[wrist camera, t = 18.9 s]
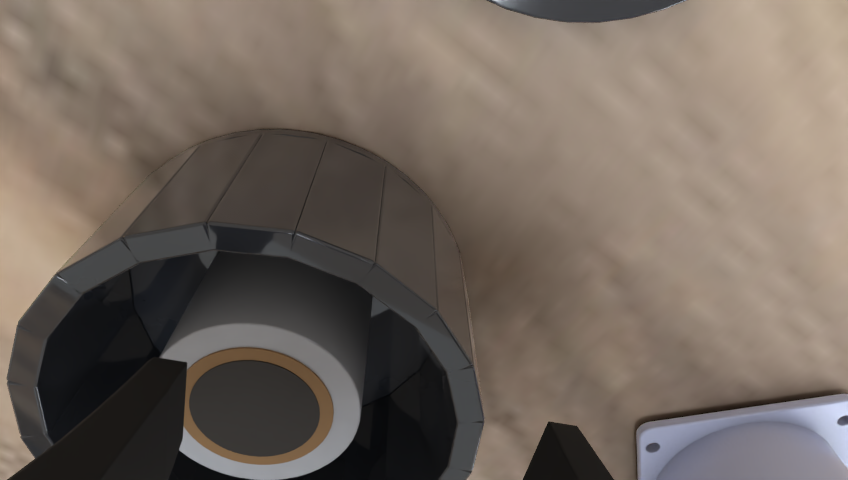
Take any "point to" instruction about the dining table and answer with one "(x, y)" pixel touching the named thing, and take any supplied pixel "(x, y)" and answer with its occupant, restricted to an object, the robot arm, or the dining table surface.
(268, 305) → the tape roll
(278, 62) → the dining table surface
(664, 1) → the lid
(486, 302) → the dining table surface
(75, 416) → the pot
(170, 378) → the robot arm
